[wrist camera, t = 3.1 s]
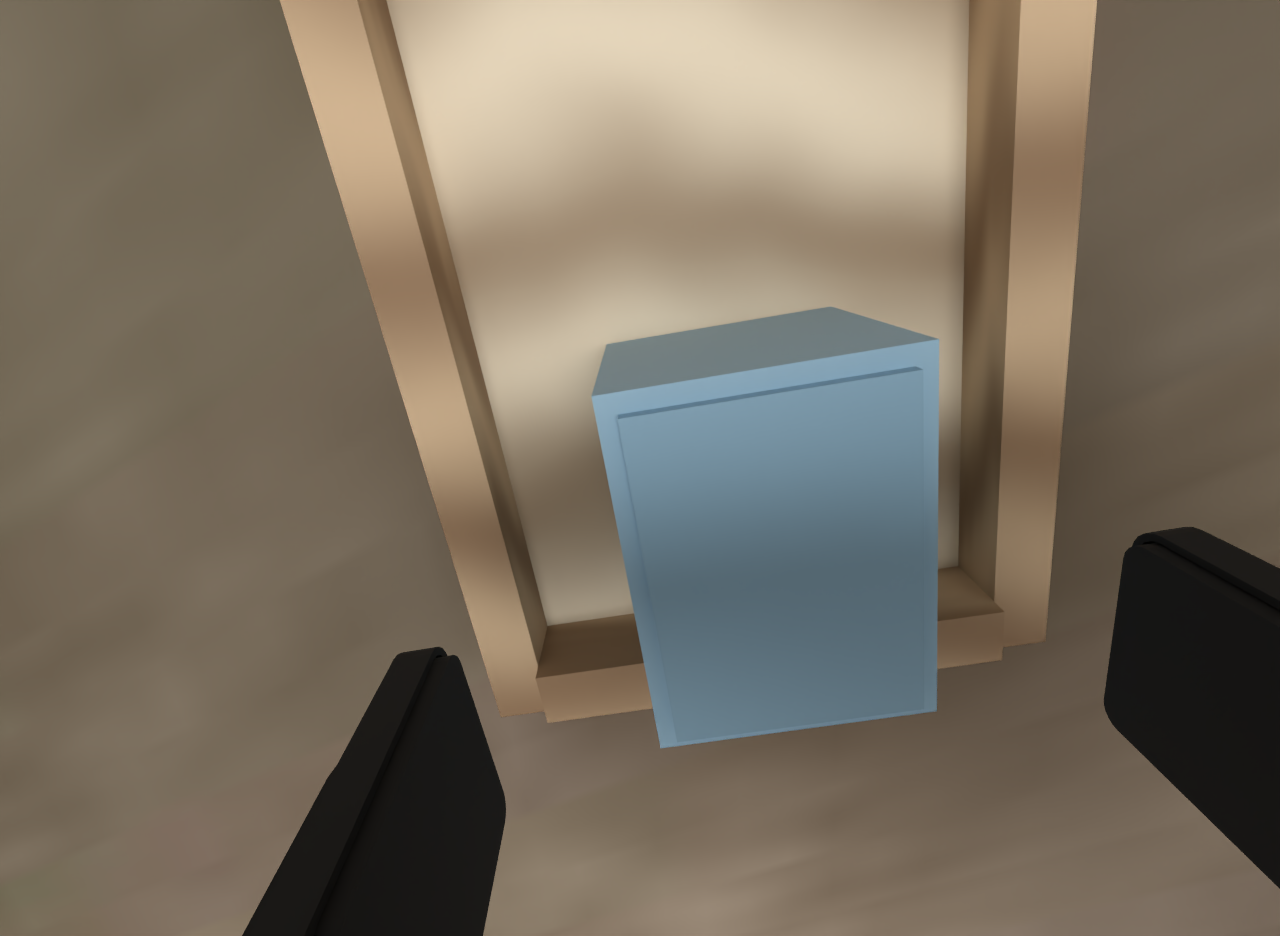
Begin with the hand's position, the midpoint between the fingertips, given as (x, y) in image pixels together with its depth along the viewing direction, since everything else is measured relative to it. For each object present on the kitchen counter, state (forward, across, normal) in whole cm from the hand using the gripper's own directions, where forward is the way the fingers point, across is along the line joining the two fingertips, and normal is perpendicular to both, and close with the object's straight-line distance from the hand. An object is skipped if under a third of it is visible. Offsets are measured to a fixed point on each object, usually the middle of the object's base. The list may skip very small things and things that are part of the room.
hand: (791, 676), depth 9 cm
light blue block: (+9, -1, 0) cm, 9 cm away
